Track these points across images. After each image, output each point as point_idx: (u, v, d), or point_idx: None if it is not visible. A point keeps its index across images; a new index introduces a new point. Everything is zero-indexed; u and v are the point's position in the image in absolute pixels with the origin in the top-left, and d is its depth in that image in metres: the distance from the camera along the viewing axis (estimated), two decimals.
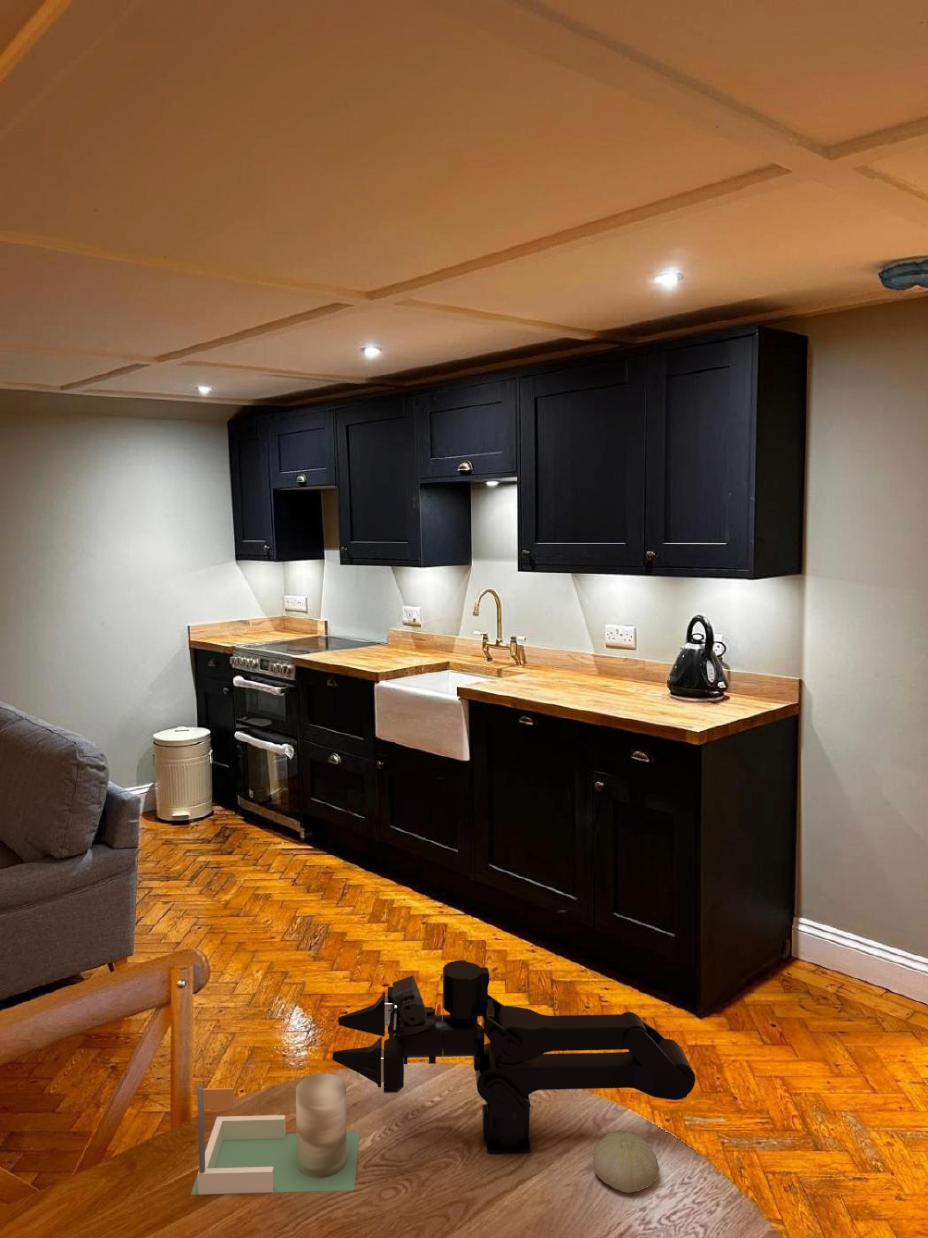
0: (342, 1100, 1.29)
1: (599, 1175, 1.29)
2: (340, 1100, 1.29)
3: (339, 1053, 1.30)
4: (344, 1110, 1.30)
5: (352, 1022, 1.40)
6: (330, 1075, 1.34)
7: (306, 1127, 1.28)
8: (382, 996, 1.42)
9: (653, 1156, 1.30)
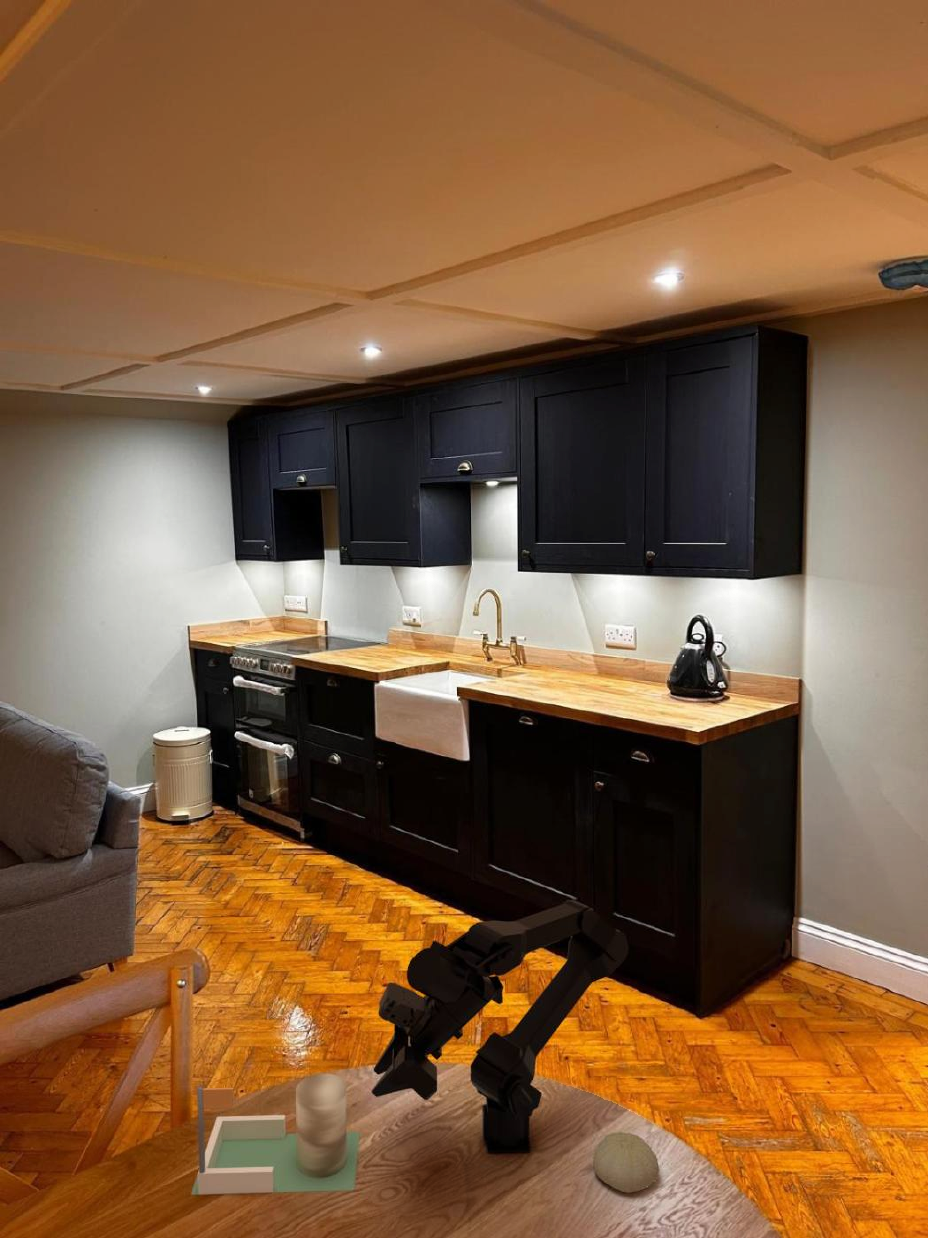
0: (342, 1100, 1.29)
1: (599, 1175, 1.29)
2: (340, 1100, 1.29)
3: (375, 1088, 1.28)
4: (344, 1110, 1.30)
5: (387, 1063, 1.33)
6: (330, 1075, 1.34)
7: (306, 1127, 1.28)
8: None
9: (653, 1156, 1.30)
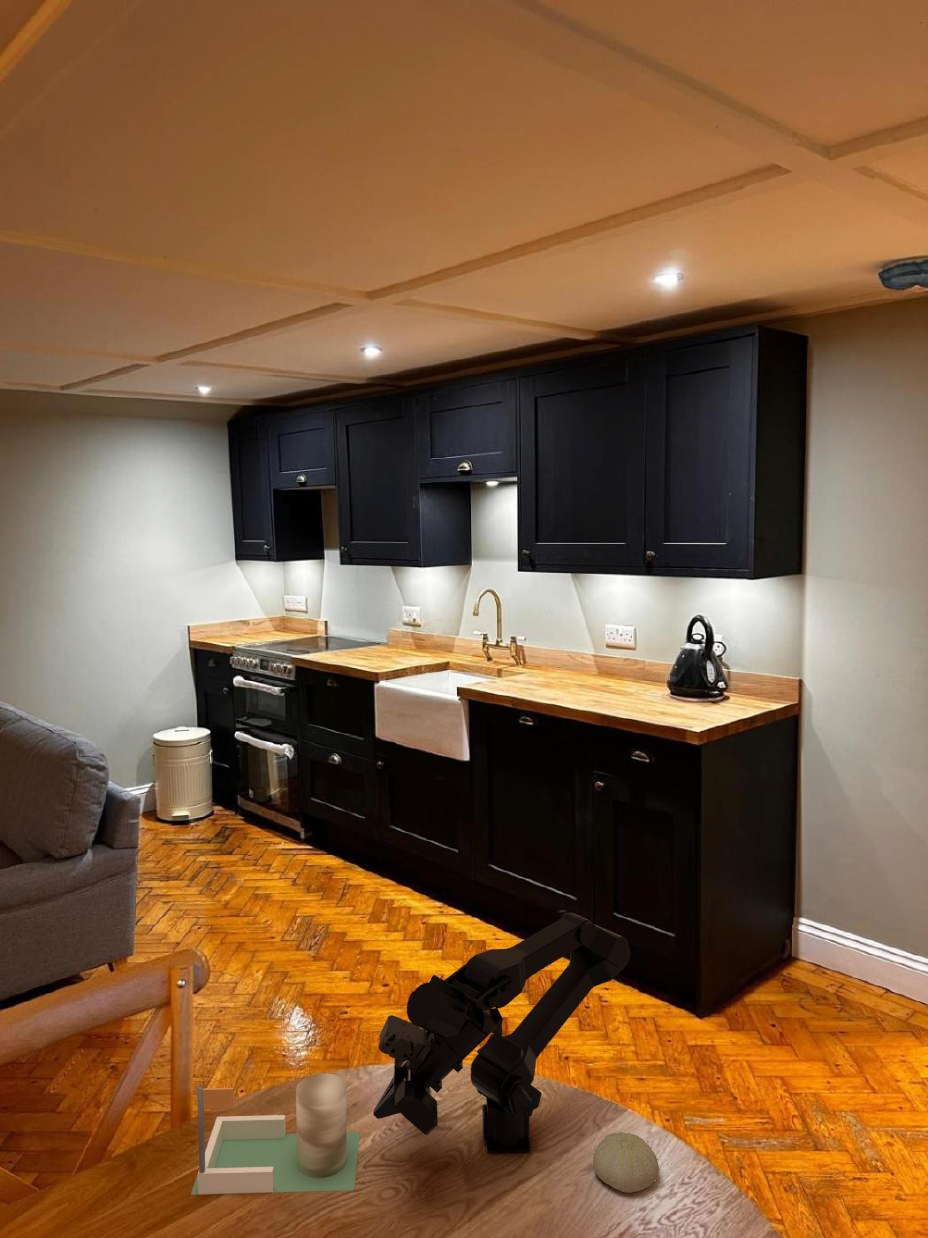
0: (342, 1100, 1.29)
1: (599, 1175, 1.29)
2: (340, 1100, 1.29)
3: (376, 1110, 1.31)
4: (344, 1110, 1.30)
5: None
6: (330, 1075, 1.34)
7: (306, 1127, 1.28)
8: (394, 1062, 1.33)
9: (653, 1156, 1.30)
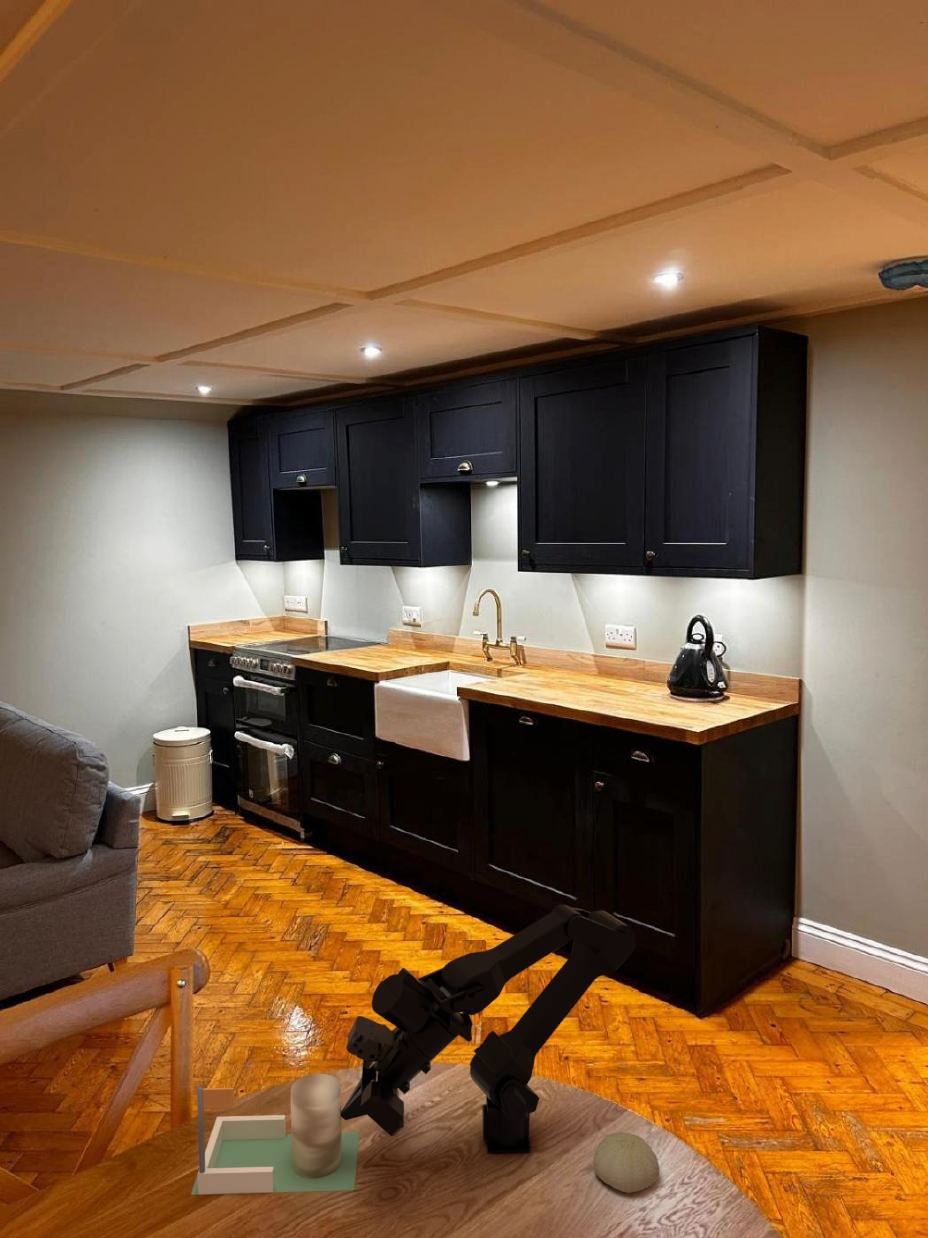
0: (337, 1101, 1.29)
1: (599, 1175, 1.29)
2: (334, 1101, 1.29)
3: (344, 1111, 1.30)
4: (339, 1110, 1.30)
5: None
6: (325, 1075, 1.34)
7: (300, 1128, 1.28)
8: None
9: (653, 1156, 1.30)
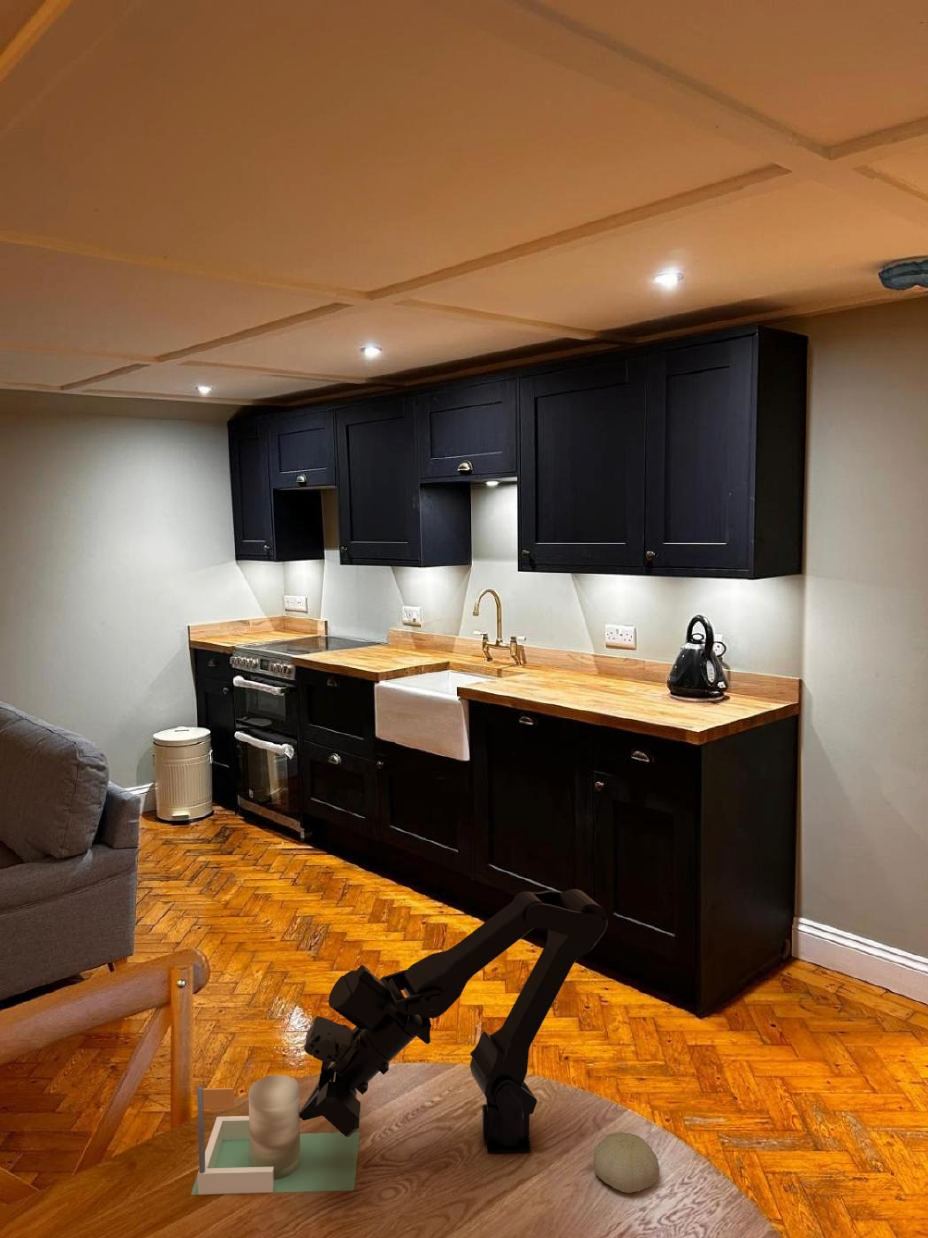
0: (295, 1102, 1.29)
1: (599, 1175, 1.29)
2: (292, 1102, 1.28)
3: (302, 1112, 1.30)
4: (297, 1112, 1.30)
5: None
6: (284, 1077, 1.33)
7: (258, 1129, 1.27)
8: None
9: (653, 1156, 1.30)
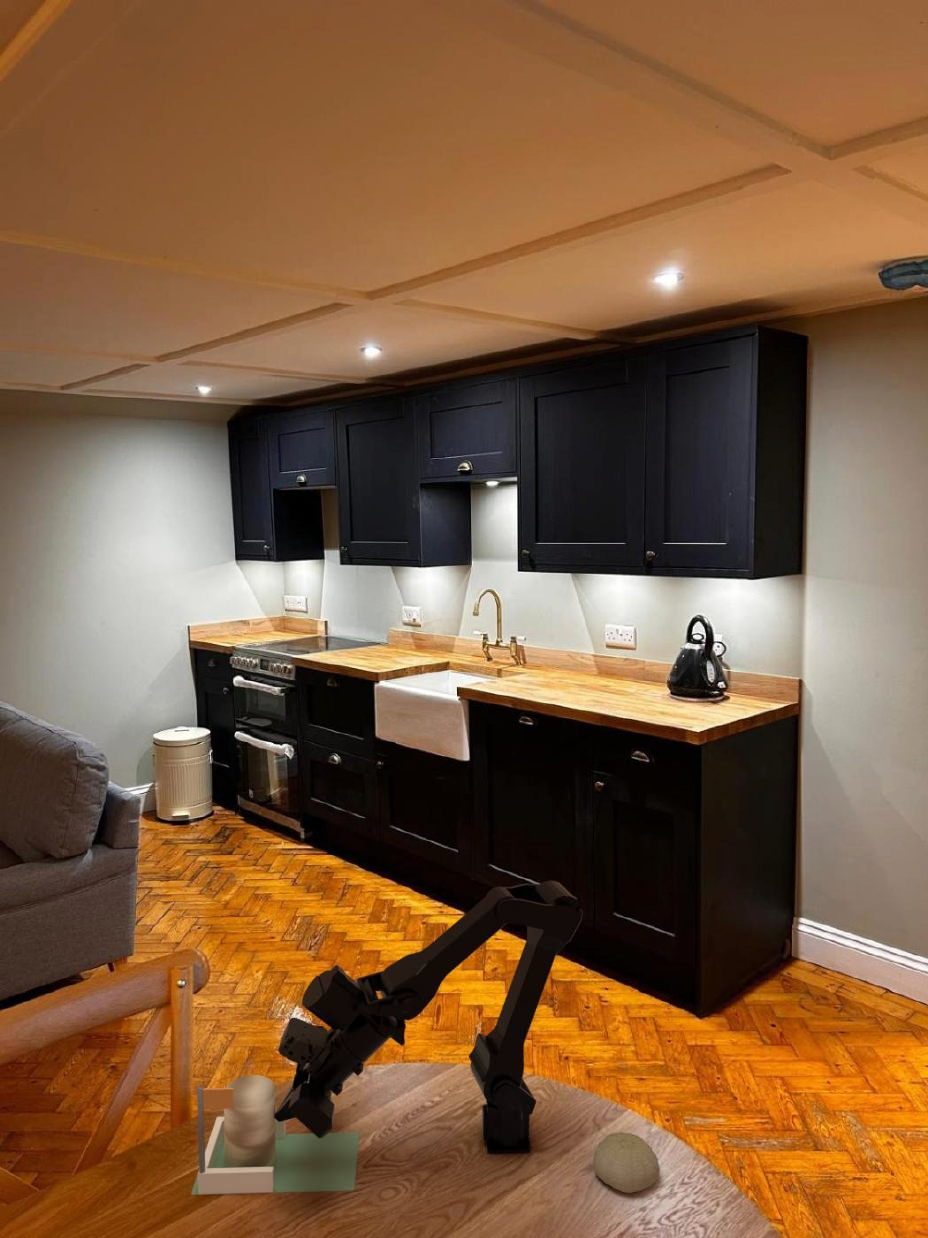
0: (270, 1102, 1.29)
1: (600, 1175, 1.29)
2: (267, 1102, 1.28)
3: (277, 1113, 1.30)
4: (272, 1112, 1.30)
5: None
6: (259, 1077, 1.33)
7: (232, 1129, 1.27)
8: (297, 1065, 1.32)
9: (654, 1156, 1.30)
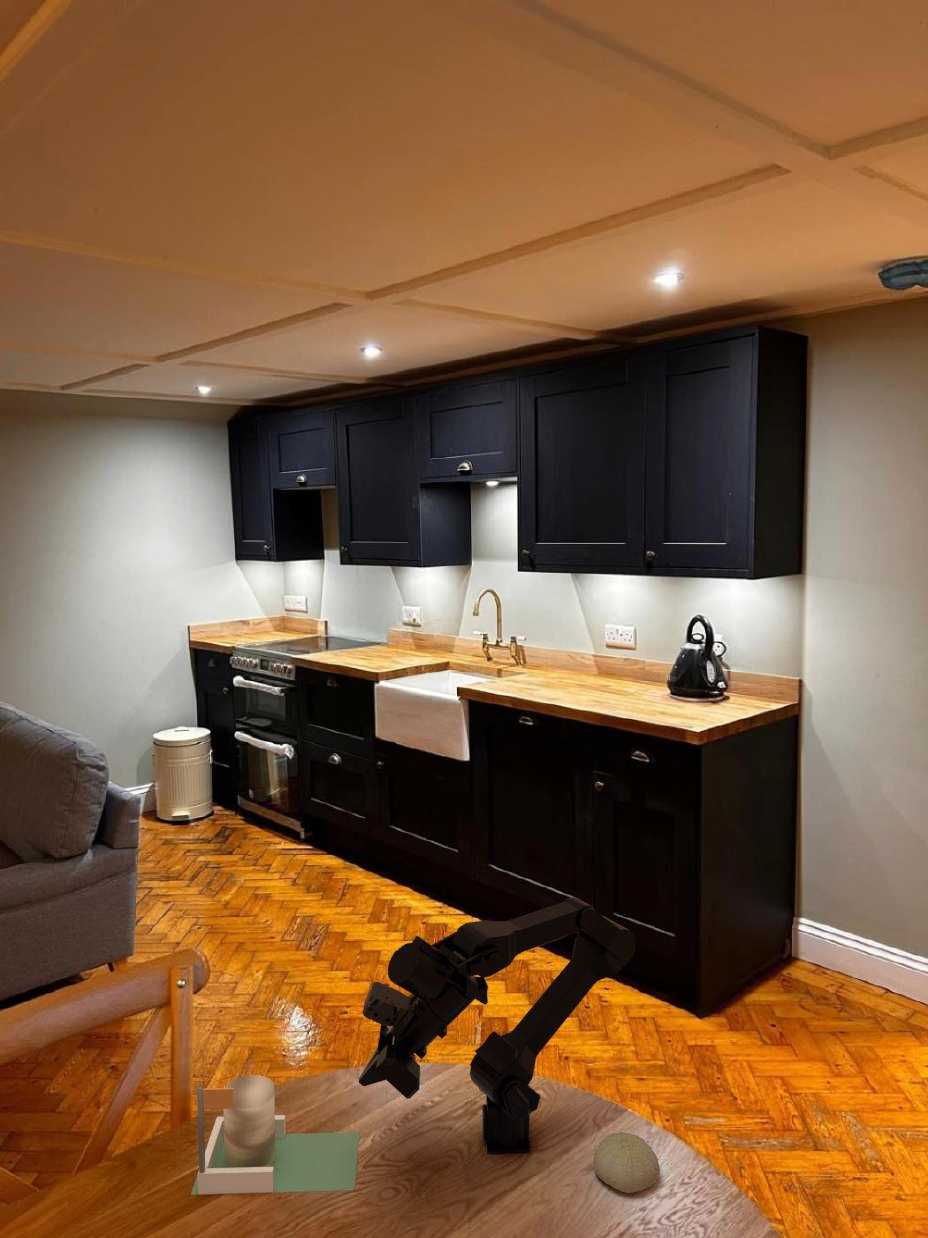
0: (269, 1102, 1.29)
1: (600, 1175, 1.29)
2: (266, 1102, 1.28)
3: (362, 1077, 1.30)
4: (272, 1112, 1.30)
5: None
6: (259, 1077, 1.33)
7: (232, 1129, 1.27)
8: (380, 1030, 1.33)
9: (654, 1156, 1.30)
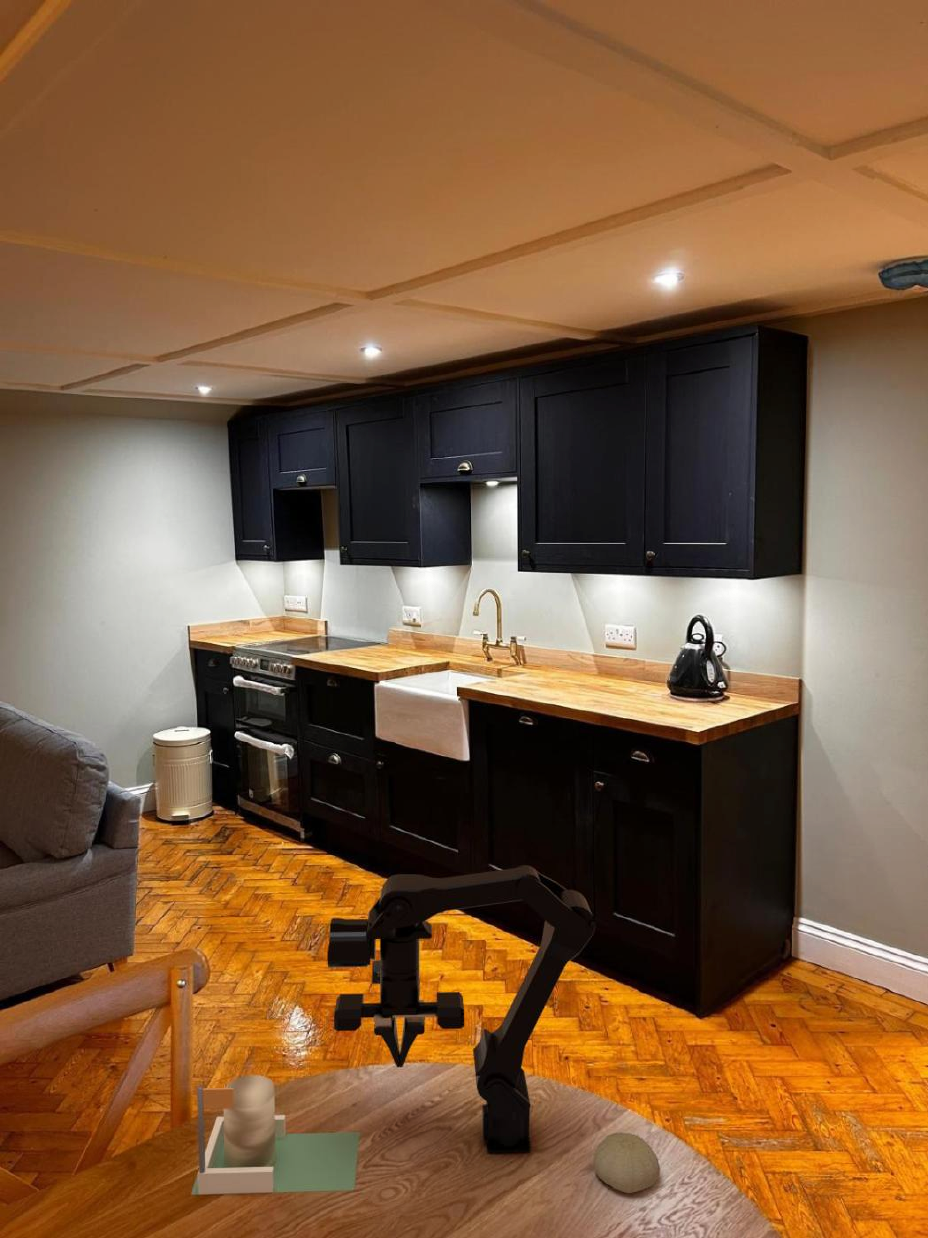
0: (269, 1102, 1.29)
1: (600, 1175, 1.29)
2: (266, 1102, 1.28)
3: None
4: (272, 1112, 1.30)
5: (400, 1053, 1.36)
6: (259, 1077, 1.33)
7: (232, 1129, 1.27)
8: None
9: (654, 1156, 1.30)
